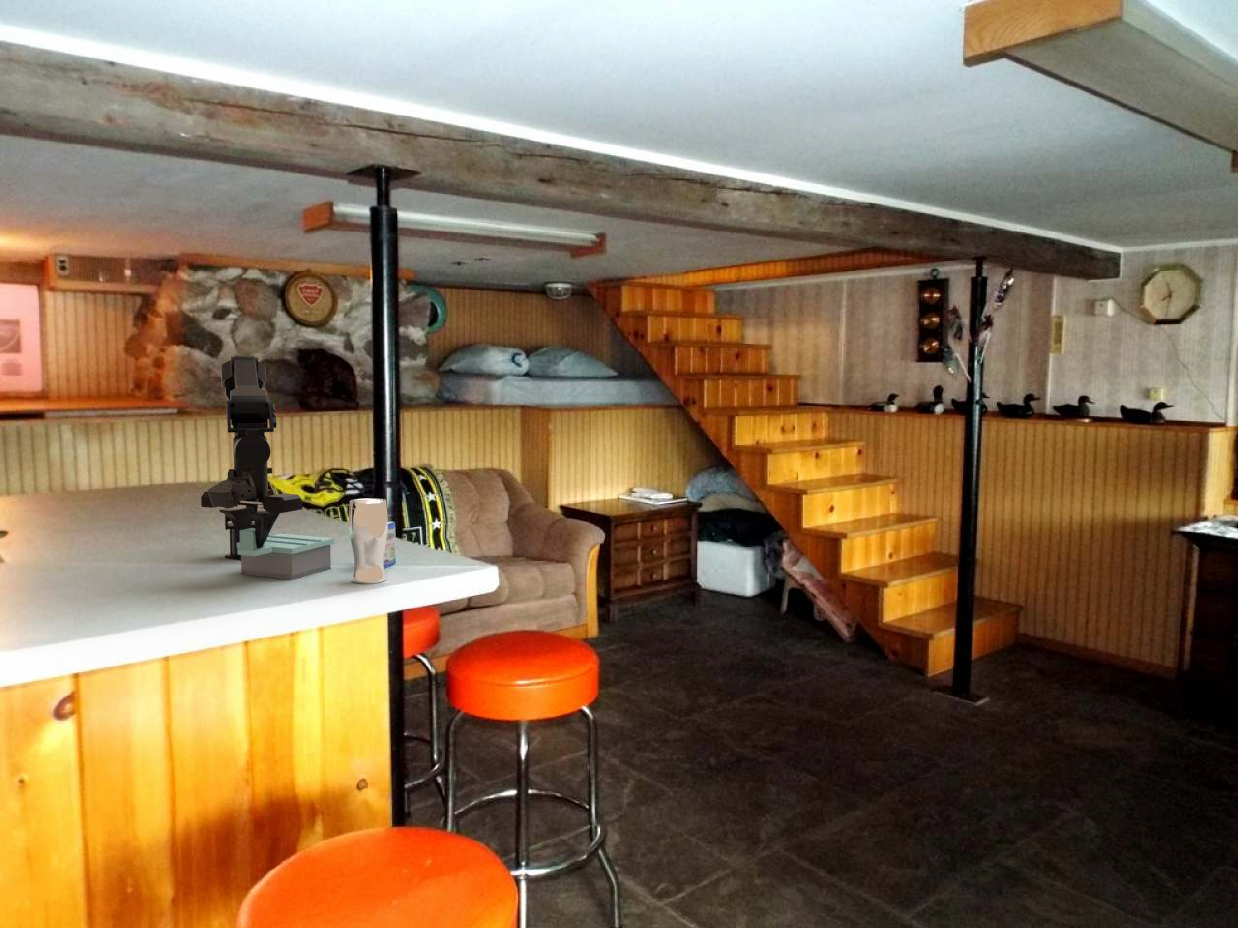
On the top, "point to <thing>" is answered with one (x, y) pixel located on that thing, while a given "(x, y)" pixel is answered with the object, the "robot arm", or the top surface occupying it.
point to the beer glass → (368, 539)
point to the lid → (279, 543)
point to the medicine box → (390, 546)
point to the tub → (287, 563)
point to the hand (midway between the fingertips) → (252, 547)
